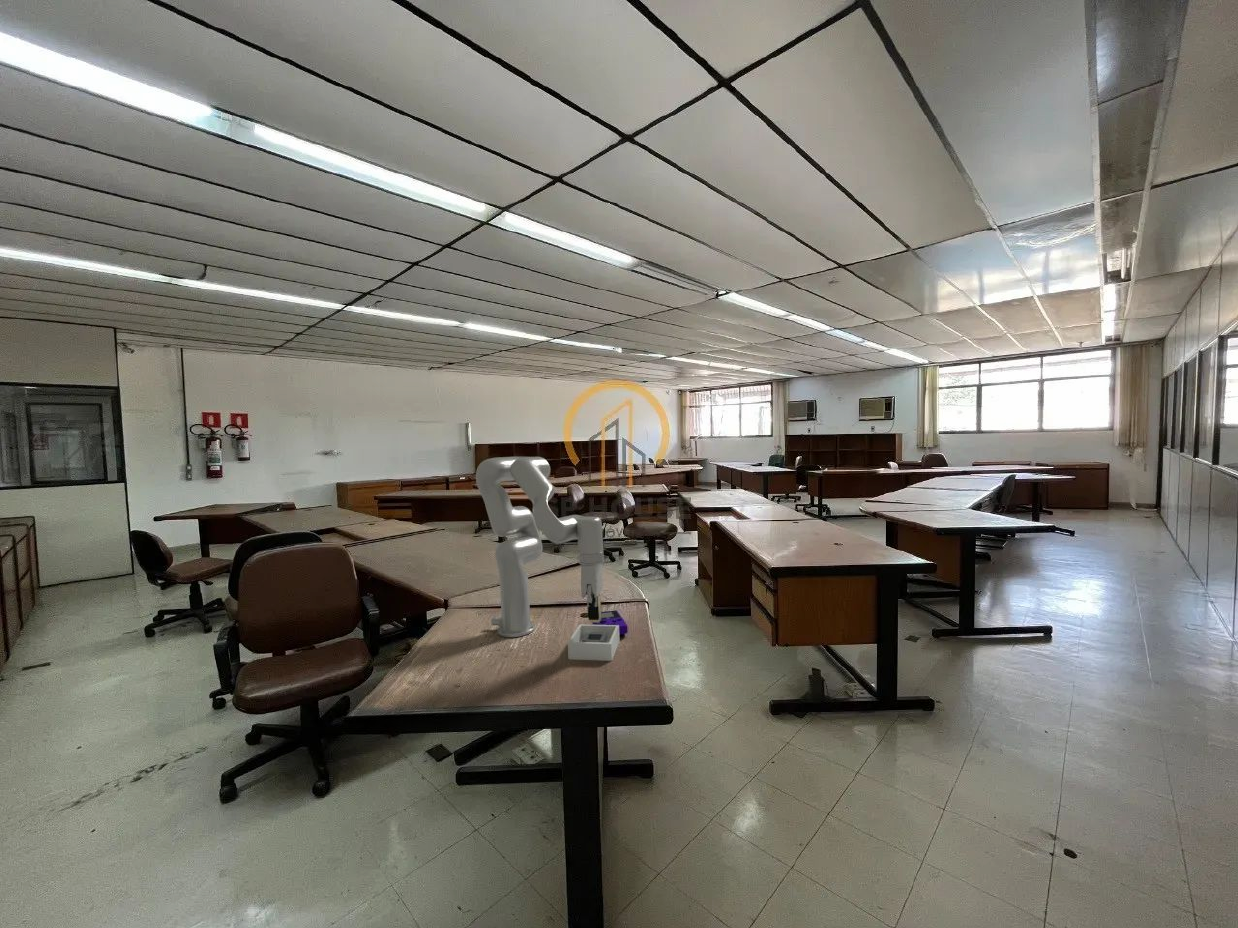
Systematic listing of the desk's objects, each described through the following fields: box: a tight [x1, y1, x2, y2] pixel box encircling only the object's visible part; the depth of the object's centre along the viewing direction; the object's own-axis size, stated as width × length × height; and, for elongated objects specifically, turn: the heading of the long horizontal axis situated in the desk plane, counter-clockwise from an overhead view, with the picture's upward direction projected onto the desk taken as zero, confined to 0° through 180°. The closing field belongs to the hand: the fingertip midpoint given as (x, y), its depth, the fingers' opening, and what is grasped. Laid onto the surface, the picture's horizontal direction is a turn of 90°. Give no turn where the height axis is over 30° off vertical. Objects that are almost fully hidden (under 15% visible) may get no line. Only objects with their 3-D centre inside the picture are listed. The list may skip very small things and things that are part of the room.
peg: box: [589, 593, 602, 623], centre depth 144 cm, size 3×3×9 cm
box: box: [567, 623, 621, 662], centre depth 145 cm, size 13×14×5 cm
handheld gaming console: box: [591, 609, 628, 635], centre depth 159 cm, size 9×5×15 cm
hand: (595, 616), depth 144 cm, fingers closed on peg, 3 cm apart
